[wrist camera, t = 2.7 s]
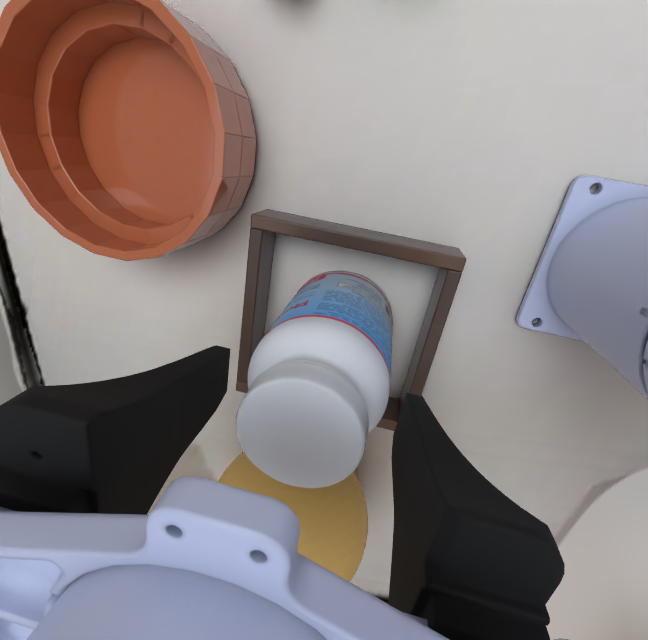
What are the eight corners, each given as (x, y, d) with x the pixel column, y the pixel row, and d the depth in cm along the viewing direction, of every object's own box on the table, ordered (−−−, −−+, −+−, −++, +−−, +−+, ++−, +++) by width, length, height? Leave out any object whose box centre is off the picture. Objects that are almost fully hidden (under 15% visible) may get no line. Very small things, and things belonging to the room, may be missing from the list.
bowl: (270, 29, 18) (233, -12, 14) (249, 261, 23) (216, 281, 19) (53, -5, 19) (-39, -51, 15) (75, 222, 24) (9, 234, 20)
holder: (459, 248, 20) (466, 258, 18) (407, 410, 25) (408, 435, 22) (266, 208, 21) (251, 213, 19) (249, 370, 26) (235, 390, 23)
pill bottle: (307, 254, 22) (228, 332, 12) (407, 287, 22) (416, 396, 11) (284, 342, 24) (202, 470, 14) (373, 373, 24) (355, 526, 14)
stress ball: (339, 388, 25) (306, 516, 16) (393, 497, 28) (391, 660, 19) (218, 425, 28) (132, 550, 19) (277, 520, 31) (227, 669, 22)
